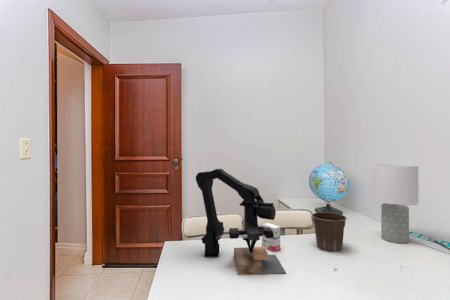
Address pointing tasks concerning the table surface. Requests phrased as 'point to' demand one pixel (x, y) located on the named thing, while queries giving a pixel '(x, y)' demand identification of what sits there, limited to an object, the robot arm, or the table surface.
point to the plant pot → (329, 230)
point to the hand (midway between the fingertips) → (250, 252)
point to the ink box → (274, 242)
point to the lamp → (395, 198)
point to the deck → (247, 262)
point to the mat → (272, 266)
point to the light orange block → (260, 253)
